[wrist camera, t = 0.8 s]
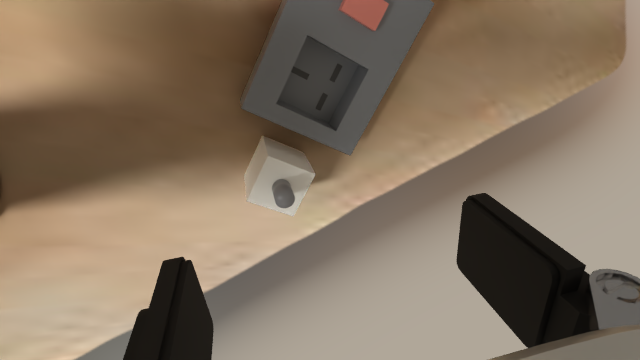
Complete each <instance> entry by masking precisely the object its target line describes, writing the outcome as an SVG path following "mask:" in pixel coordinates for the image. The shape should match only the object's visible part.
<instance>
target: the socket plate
mask: <svg viewBox="0 0 640 360" xmlns="http://www.w3.org/2000/svg"><path fill="white" fill-rule="evenodd" d="M433 5H434V3H433V2H432V1H430V0H282V2H281V4H280V7H279V9H278V11H277V14H276V16H275V19H274V21H273V23H272V26H271V28H270V30H269V33H268V35H267V37H266V40H265V42H264V44H263V47H262V49H261V52H260V54H259V56H258V59H257V61H256V63H255V66H254V68H253V70H252V73H251V75H250V78H249V80H248V82H247V85H246V87H245V89H244V92H243V94H242V96H241V99H240V104H241V109H243V110H246V111H248V112H250V113H253V114H255V115H257V116H260V117H262V118H264V119H267V120H269V121H271V122H274V123H276V124H278V125H280V126H283V127H285V128H287V129H290V130H292V131H294V132H297V133H299V134H301V135H304V136H306V137H308V138H311V139H313V140H315V141H318V142H320V143H322V144H325V145H327V146H329V147H331V148H334V149H336V150H338V151H341V152H343V153H345V154H348V155H351V154H352V152H353V150H354V148H355V146H356V145H357V143H358V141H359V139H360V137H361V136H362V134H363V132H364V130H365V128H366V127H367V125H368V123H369V121H370V119H371V118H372V116H373V114H374V112H375V110H376V108H377V107H378V105H379V103H380V101H381V99H382V98H383V96H384V94H385V92H386V90H387V89H388V87H389V85H390V83H391V81H392V80H393V78H394V76H395V74H396V72H397V71H398V69H399V67H400V65H401V63H402V61H403V60H404V58H405V56H406V54H407V52H408V51H409V49H410V47H411V45H412V43H413V42H414V40H415V38H416V36H417V34H418V33H419V31H420V29H421V27H422V25H423V23H424V22H425V20H426V18H427V16H428V14H429V13H430V11H431V9H432V7H433Z"/></svg>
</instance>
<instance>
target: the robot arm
mask: <svg viewBox="0 0 640 360" xmlns="http://www.w3.org/2000/svg"><path fill="white" fill-rule="evenodd" d="M457 265H458V268H459V269H460V271H461V272H462V273H463V274H464V275H465V277H466V278H467V279H468V280H469V281H470V282H471V284H472V285H473V286H474V287H475V288H476V289H477V291H478V292H479V293H480V294H481V295H482V296H483V297H484V299H485V300H486V301H487V302H488V303H489V304H490V306H491V307H492V308H493V309H494V310H495V311H496V313H497V314H498V315H499V316H500V317H501V318H502V319H503V321H504V322H505V323H506V324H507V325H508V326H509V327H510V329H511V330H512V331H513V332H514V333H515V334H516V336H517V337H518V338H519V339H520V340H521V341H522V343H523V344H524V345H525V346H526V347H528V348H527V349H524V350H520V351H517V352H513V353H510V354H506V355H503V356H499V357H495V358H492V359H489V360H640V279H639V278H638V277H635V276H633V275H631V274H629V273H626V272H622V271H618V270H612V269H599V270H596V271H593V272H592V274H591V275H589V274H588V273H586V272H585V271H584V270H585V266H586V265H585V264H583V263H582V262H580V261H579V260H578V259H576V258H575V257H574V256H572V255H571V254H569V253H568V252H567V251H565V250H564V249H562V248H561V247H560V246H558V245H557V244H555V243H554V242H553V241H551V240H550V239H549V238H547V237H546V236H544V235H543V234H542V233H540V232H539V231H538V230H536V229H535V228H534V227H532V226H531V225H529V224H528V223H527V222H525V221H524V220H522V219H521V218H520V217H518V216H517V215H516V214H514V213H513V212H511V211H510V210H509V209H507V208H506V207H505V206H503V205H502V204H500V203H499V202H498V201H496V200H495V199H493V198H492V197H491V196H489V195H488V194H486V193H481V194H476V195H472V196H469V197H467V199H466V201H464V202H463V205H462V214H461V223H460V233H459V243H458V252H457ZM212 343H213V322H212V318H211V315H210V312H209V309H208V307H207V304H206V301H205V298H204V295H203V292H202V289H201V287H200V284H199V281H198V278H197V275H196V272H195V269H194V267H193V264H192V261H191V260H187V261H185V259H184V257H179V258H174V259H169V260H165V261H163V263H162V266H161V269H160V273H159V276H158V279H157V283H156V286H155V289H154V293H153V296H152V300H151V303H150V306H149V308H147V309H143V310H141V311H140V312H139V314H138V316H137V318H136V321H135V324H134V328H133V331H132V334H131V337H130V340H129V343H128V346H127V349H126V352H125V355H124V358H123V360H211V355H212Z"/></svg>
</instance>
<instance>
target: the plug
mask: <svg viewBox="0 0 640 360" xmlns="http://www.w3.org/2000/svg"><path fill="white" fill-rule="evenodd" d="M315 175H316V174H315V172H314V170H313V168H312V166H311V165H310V163H309V161H308V159H307V157H306V155H305V154H304V152H302V151H299V150H297V149H294V148H292V147H290V146H287V145H285V144H282V143H280V142H277V141H275V140H272V139H270V138H268V137H265V136H263V135H262V137H261V139H260V141H259V144H258V146H257V148H256V150H255V152H254V155H253V157H252V159H251V161H250V163H249V165H248V168H247V170H246V172H245V174H244V181H245V191H246V201H247V202H250V203H253V204H256V205H259V206H263V207H266V208H269V209H272V210H275V211H278V212H281V213H284V214H287V215H290V216H294V214H295V213H296V211H297V209H298V207H299V205H300V203H301V201H302V199H303V197H304V196H305V194H306V192H307V190H308V188H309V186H310V184H311V182H312V180H313V179H314V177H315Z"/></svg>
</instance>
